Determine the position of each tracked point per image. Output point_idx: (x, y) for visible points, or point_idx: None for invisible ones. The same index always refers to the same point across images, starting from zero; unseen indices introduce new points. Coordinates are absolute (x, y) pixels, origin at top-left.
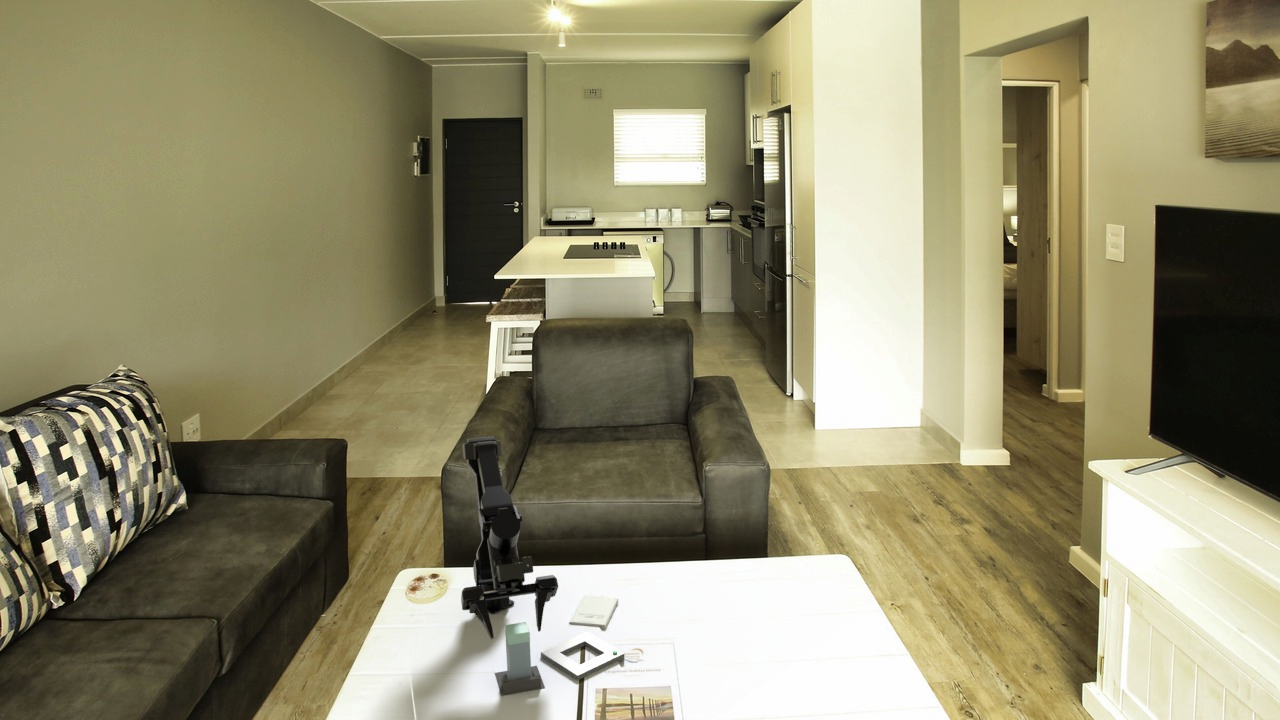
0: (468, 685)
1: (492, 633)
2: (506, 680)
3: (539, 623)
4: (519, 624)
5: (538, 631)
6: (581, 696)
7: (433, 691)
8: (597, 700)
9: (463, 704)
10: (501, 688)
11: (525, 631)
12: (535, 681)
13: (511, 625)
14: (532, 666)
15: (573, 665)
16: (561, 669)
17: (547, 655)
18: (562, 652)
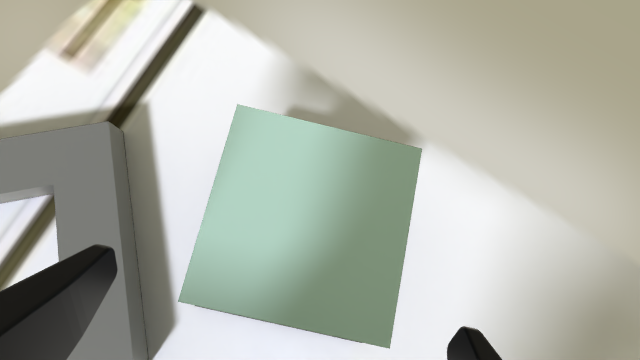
0: (466, 323)
1: (479, 348)
2: None
3: (63, 272)
4: (256, 283)
5: (117, 267)
6: (158, 58)
7: (585, 351)
8: (128, 14)
9: (507, 216)
10: None
11: (266, 129)
12: None
13: (332, 307)
14: (213, 309)
15: (78, 192)
16: (127, 223)
17: (124, 329)
18: None
